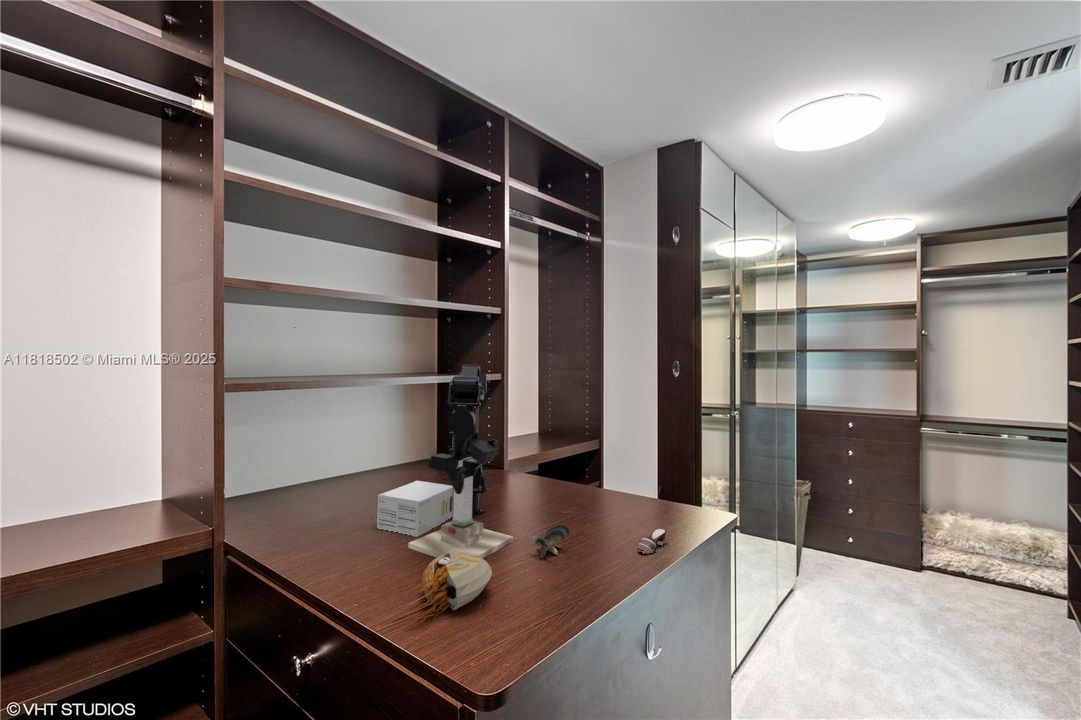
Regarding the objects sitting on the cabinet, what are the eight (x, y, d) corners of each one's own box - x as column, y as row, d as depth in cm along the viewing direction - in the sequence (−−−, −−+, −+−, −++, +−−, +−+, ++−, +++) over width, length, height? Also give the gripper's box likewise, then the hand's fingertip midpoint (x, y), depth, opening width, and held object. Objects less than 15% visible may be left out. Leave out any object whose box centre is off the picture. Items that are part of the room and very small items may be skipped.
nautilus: (431, 646, 80) (372, 621, 88) (510, 587, 98) (455, 570, 106) (428, 598, 80) (368, 578, 88) (508, 548, 98) (452, 534, 106)
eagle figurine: (563, 559, 111) (577, 539, 119) (546, 532, 111) (561, 513, 119) (538, 570, 114) (553, 549, 122) (521, 543, 115) (538, 524, 123)
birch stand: (458, 526, 133) (459, 507, 133) (513, 541, 123) (513, 520, 123) (408, 547, 118) (408, 526, 117) (465, 567, 108) (466, 543, 108)
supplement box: (417, 538, 124) (418, 501, 124) (376, 529, 129) (376, 494, 129) (454, 517, 140) (454, 484, 140) (415, 510, 145) (416, 479, 145)
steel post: (461, 520, 123) (462, 473, 122) (472, 523, 121) (473, 475, 121) (452, 524, 120) (453, 476, 120) (463, 527, 118) (464, 478, 118)
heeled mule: (630, 552, 119) (631, 536, 119) (654, 540, 127) (655, 525, 127) (646, 558, 116) (647, 542, 116) (670, 546, 124) (671, 531, 124)
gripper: (464, 437, 108) (462, 508, 108) (513, 427, 123) (512, 489, 124) (427, 431, 114) (426, 499, 114) (479, 422, 129) (477, 481, 130)
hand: (463, 492), depth 120 cm, fingers closed on steel post, 3 cm apart
